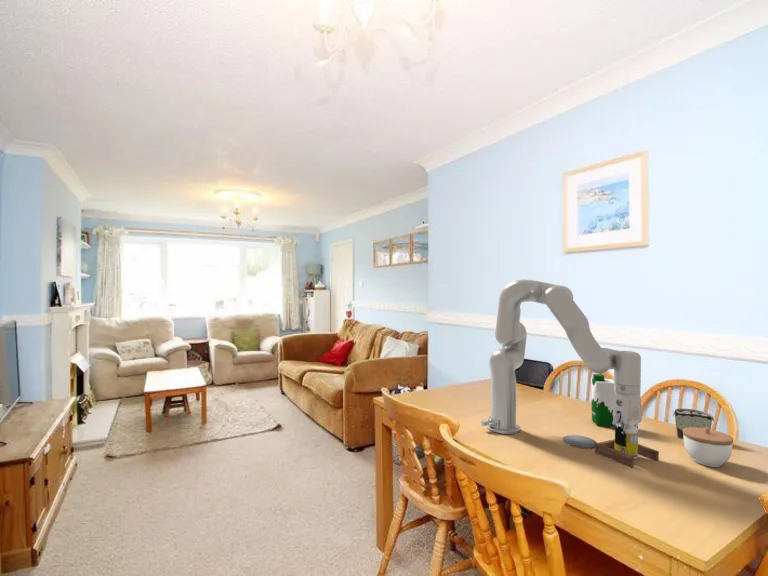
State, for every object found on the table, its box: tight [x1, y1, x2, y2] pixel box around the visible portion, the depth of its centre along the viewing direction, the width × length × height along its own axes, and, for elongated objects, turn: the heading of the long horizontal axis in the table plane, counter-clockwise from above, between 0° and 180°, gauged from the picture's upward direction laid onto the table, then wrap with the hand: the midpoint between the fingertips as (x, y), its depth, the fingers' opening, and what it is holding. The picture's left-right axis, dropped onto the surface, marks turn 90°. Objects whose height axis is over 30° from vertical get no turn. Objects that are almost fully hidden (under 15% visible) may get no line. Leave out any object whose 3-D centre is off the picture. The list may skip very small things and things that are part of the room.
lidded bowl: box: [682, 427, 734, 468], centre depth 129 cm, size 13×13×11 cm
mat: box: [562, 434, 598, 450], centre depth 145 cm, size 11×11×1 cm
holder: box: [594, 438, 660, 469], centre depth 133 cm, size 13×13×3 cm
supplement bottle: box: [614, 421, 639, 460], centre depth 133 cm, size 7×7×13 cm
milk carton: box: [590, 373, 615, 428], centre depth 165 cm, size 9×9×20 cm
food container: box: [672, 408, 715, 440], centre depth 151 cm, size 12×6×10 cm, turn 65°
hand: (626, 442), depth 133 cm, fingers closed on supplement bottle, 6 cm apart
